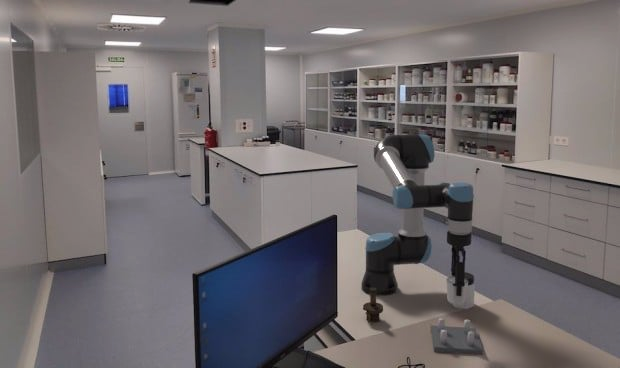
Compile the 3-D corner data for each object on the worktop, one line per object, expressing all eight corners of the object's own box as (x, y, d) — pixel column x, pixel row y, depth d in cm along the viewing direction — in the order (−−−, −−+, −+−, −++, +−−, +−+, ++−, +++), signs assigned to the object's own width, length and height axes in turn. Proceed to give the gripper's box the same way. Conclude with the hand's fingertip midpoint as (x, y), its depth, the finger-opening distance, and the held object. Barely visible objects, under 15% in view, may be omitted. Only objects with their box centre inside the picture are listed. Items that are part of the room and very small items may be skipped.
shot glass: (466, 305, 160) (467, 285, 159) (444, 303, 162) (445, 282, 161) (468, 297, 166) (468, 277, 165) (446, 294, 169) (447, 275, 167)
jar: (462, 311, 189) (463, 281, 187) (445, 303, 196) (446, 274, 194) (478, 305, 194) (479, 276, 192) (461, 298, 201) (462, 269, 199)
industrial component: (369, 326, 179) (369, 294, 176) (358, 318, 185) (358, 287, 183) (391, 320, 183) (391, 289, 180) (380, 312, 189) (380, 282, 187)
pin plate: (430, 329, 175) (430, 314, 174) (475, 332, 173) (475, 317, 172) (433, 351, 161) (434, 335, 160) (482, 354, 158) (483, 338, 157)
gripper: (444, 223, 170) (441, 287, 174) (450, 240, 151) (447, 311, 155) (467, 224, 169) (464, 288, 173) (476, 241, 150) (473, 313, 154)
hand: (456, 299), depth 164 cm, fingers closed on shot glass, 7 cm apart
